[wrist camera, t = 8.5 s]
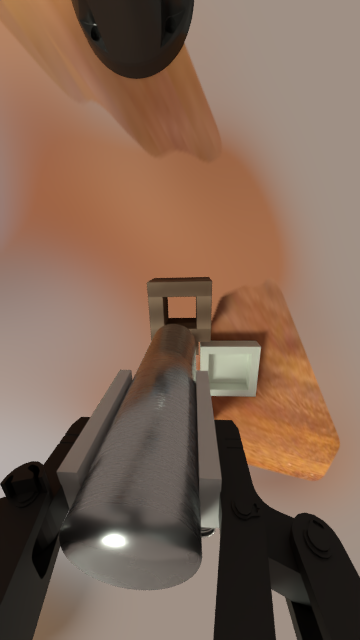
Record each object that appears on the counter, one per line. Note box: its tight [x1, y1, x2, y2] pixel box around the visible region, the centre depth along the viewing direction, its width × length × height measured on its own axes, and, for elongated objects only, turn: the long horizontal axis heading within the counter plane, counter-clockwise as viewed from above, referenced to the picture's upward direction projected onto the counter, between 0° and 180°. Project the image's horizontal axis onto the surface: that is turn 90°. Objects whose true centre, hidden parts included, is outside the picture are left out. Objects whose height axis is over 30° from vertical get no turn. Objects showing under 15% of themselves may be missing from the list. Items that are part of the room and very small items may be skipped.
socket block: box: [147, 277, 212, 355], centre depth 35 cm, size 13×10×6 cm
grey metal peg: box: [59, 324, 202, 590], centre depth 13 cm, size 4×4×15 cm
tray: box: [200, 341, 261, 397], centre depth 39 cm, size 11×11×3 cm
